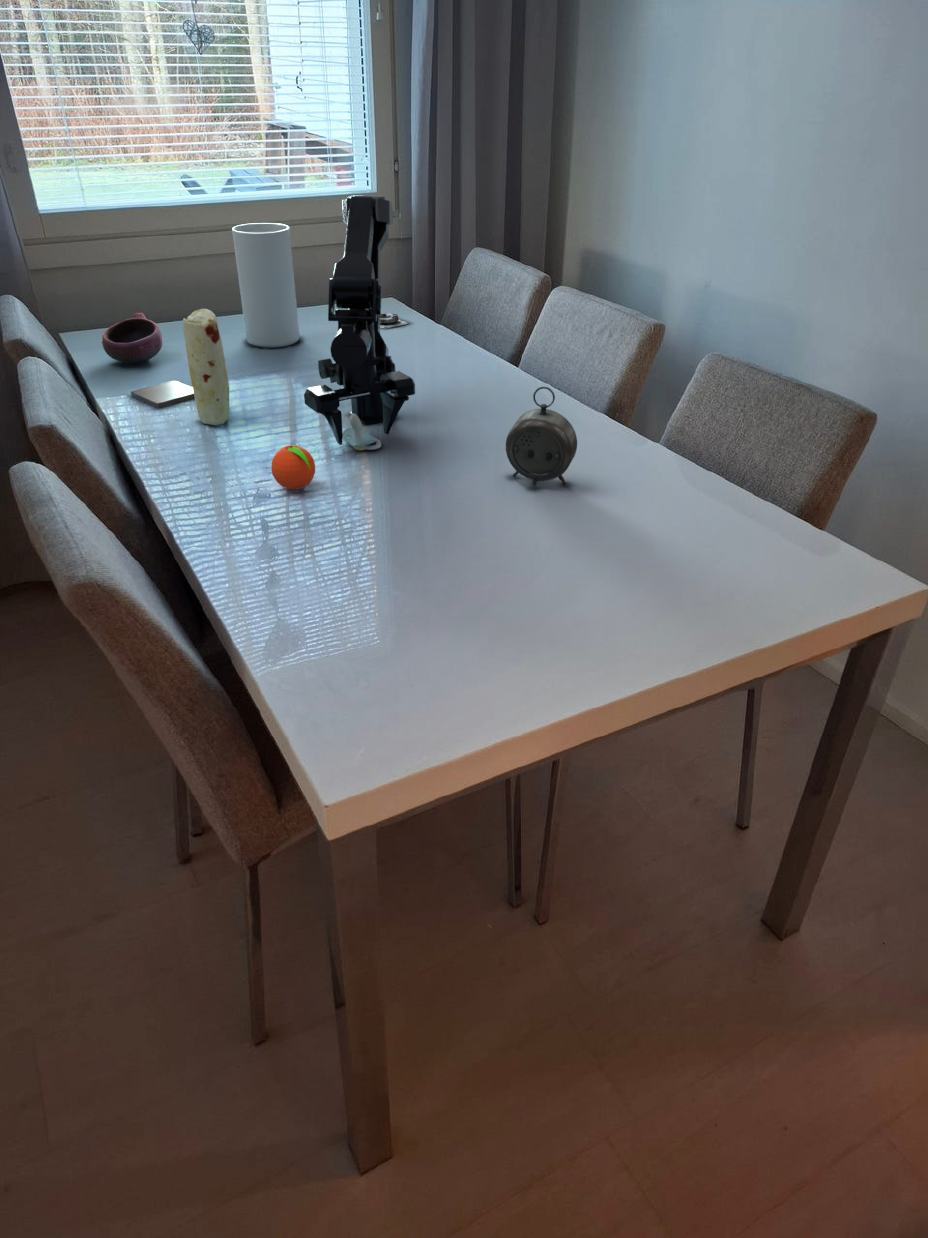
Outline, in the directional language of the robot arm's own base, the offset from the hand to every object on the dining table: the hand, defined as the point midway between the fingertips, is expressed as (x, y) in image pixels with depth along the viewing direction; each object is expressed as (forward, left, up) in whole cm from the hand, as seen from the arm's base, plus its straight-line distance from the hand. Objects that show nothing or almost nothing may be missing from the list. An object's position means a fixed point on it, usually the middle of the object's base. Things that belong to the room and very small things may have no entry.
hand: (363, 438), depth 153 cm
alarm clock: (-17, +29, -2) cm, 34 cm away
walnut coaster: (+22, -44, -1) cm, 49 cm away
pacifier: (0, 0, -2) cm, 2 cm away
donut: (-42, -69, -2) cm, 81 cm away
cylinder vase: (-11, -69, -2) cm, 70 cm away
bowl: (+21, -72, -2) cm, 75 cm away
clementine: (+17, +10, -2) cm, 20 cm away
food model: (+18, -26, -2) cm, 32 cm away
